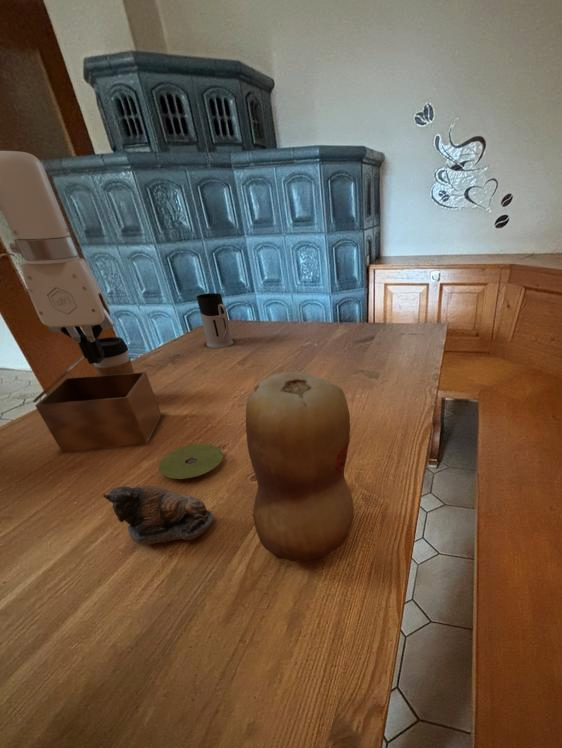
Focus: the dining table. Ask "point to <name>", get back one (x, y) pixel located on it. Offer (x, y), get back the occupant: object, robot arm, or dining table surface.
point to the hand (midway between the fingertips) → (97, 361)
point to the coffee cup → (114, 357)
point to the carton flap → (59, 378)
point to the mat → (190, 461)
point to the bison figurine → (159, 514)
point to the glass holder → (214, 320)
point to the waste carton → (101, 411)
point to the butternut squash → (299, 465)
